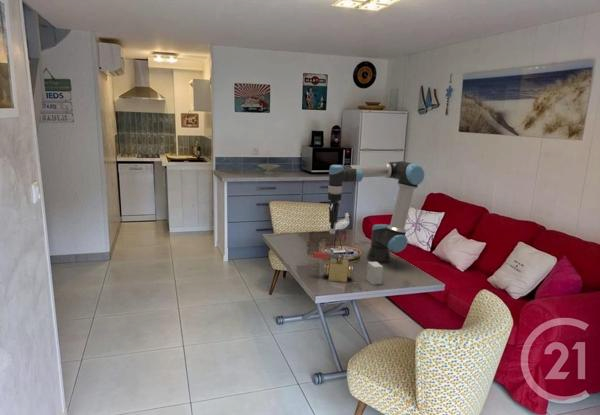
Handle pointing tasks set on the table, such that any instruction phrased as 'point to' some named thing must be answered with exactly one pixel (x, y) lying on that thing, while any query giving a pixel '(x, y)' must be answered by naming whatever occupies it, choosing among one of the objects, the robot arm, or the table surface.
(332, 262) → the valve body
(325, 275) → the pipe
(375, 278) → the small box
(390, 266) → the table surface
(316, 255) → the lever
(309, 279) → the table surface
